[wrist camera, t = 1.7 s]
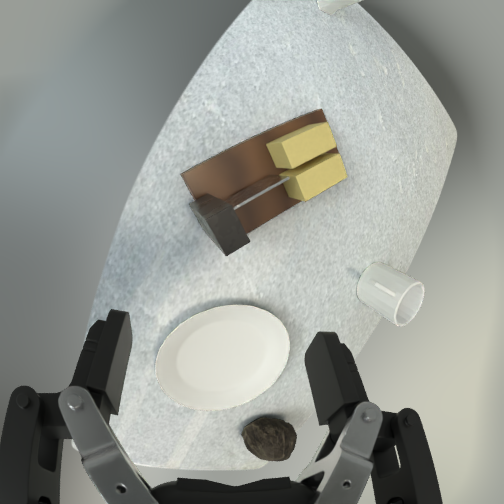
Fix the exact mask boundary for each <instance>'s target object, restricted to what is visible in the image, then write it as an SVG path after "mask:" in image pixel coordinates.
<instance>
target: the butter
mask: <svg viewBox="0 0 504 504" xmlns="http://www.w3.org/2000/svg"><path fill="white" fill-rule="evenodd" d="M266 146H267V148H268V150H269V152H270V154H271V157H272V159H273V161H274V163H275V166H276V168H288V169H289V170H287V171H285V172H283V173H281V174H279V175H281V176H288V177H289V178H290V179H289V180H287V181H285V182H283V184H284V187H285V189H286V192H287V194H288V196H289V197H290V198H294V199H298V200H301V201H305V202H306V201H308V200H309V199H311V198H313V197H314V196H316V195H318V194H320V193H321V192H323V191H325V190H326V189H328V188H330V187H331V186H333V185H335V184H337V183H338V182H340V181H342V180H343V179H345V178H347V174H346V171H345V168H344V165H343V162H342V159H341V156H340V154H339V153H325V152H327V151H329V150H331V149H333V148H335V147H337V145H336V142H335V140H334V137H333V134H332V132H331V129H330V127H329V124H328V122H323V123H317V124H310V125H307V126H305V127H303V128H300V129H298V130H296V131H293V132H291V133H289V134H287V135H284V136H282V137H280V138H278V139H276V140H274V141H271V142H269V143H267V144H266Z"/></svg>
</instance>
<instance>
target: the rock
mask: <svg viewBox="0 0 504 504" xmlns="http://www.w3.org/2000/svg"><path fill="white" fill-rule="evenodd" d="M241 435H242V437H243V439H244V443H245V445H246V447H247V449H248V450H249V451H250V452H251V453H252V454H254V455H255V456H256V457H258V458H259V459H262V460H267V461H283V460H286V459H288V458H289V457H290V455H291V453H292V452H293V450H294V448H295V444H296V439H297V435H296V432H295V430H294V428H293V426H292V425H291V424H290V423H286V422H285V421H284V420H279V419H275V418H267V417H266V418H259V419H257V420H255V421H254V422H251V423H250V424H249V425H247V426H246V427H245V428H244V430H243V431H242V434H241Z"/></svg>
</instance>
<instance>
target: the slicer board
mask: <svg viewBox="0 0 504 504" xmlns="http://www.w3.org/2000/svg"><path fill="white" fill-rule="evenodd" d="M323 122H327V120H326V118H325V115H324V113H323V110H322V109H318V110H314V111H312V112H309V113H307V114H304V115H302V116H299V117H297V118H294V119H292V120H289V121H287V122H285V123H282V124H280V125H278V126H275V127H273V128H271V129H269V130H266V131H264V132H262V133H260V134H258V135H255V136H253V137H251V138H249V139H247V140H245V141H243V142H241V143H239V144H236V145H234V146H232V147H230V148H228V149H226V150H224V151H222V152H220V153H219V154H217V155H215V156H213V157H211V158H209V159H207V160H205V161H203V162H201V163H200V164H198V165H196V166H194V167H192V168H190V169H189V170H187V171H185V172H183V173H181V176H182V178H183V180H184V182H185V184H186V185H187V187H188V189H189V191H190V193H191V195H192V196H193V198H194V200H197V199H199V198H200V197H202V196H204V195H206V194H207V193H208V194H210V195H212V196H214V197H216V198H218V199H221V200H223V201H224V200H225V199H227V198H229V197H231V196H232V195H234V194H236V193H238V192H239V191H241V190H243V189H245V188H247V187H248V186H250V185H252V184H254V183H256V182H258V181H259V180H261V179H263V178H265V177H267V176H269V175H271V174H273V175H279V174H281V173H283V172H285V171H287V170H289V169H288V168H276V166H275V163H274V161H273V159H272V157H271V154H270V152H269V150H268V148H267V146H266V144H267V143H269V142H271V141H274V140H276V139H278V138H280V137H282V136H284V135H287V134H289V133H291V132H293V131H296V130H298V129H300V128H303V127H305V126H307V125H310V124H317V123H323ZM325 153H339V152H338V149H337V147H335V148H333V149H331V150H329V151H327V152H325ZM299 202H301V200H298V199H294V198H290V197H289V196H288V194H287V192H286V189H285V187H284V184H283V183H282V184H280V185H278V186H276V187H274V188H273V189H271V190H269V191H267V192H265V193H264V194H262V195H260V196H258V197H256V198H255V199H253V200H251V201H249V202H248V203H246V204H244V205H242V206H241V207H239V208H237V209H236V210H235V212H236V214H237V216H238V218H239V220H240V222H241V224H242V226H243V228H244V230H245V232H246V234H247V233H249V232H250V231H252V230H254V229H255V228H257V227H259V226H260V225H262V224H264V223H265V222H267V221H269V220H270V219H272V218H274V217H275V216H277V215H279V214H280V213H282V212H284V211H285V210H287V209H289V208H291V207H292V206H294V205H296V204H297V203H299Z"/></svg>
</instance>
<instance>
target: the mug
mask: <svg viewBox="0 0 504 504" xmlns="http://www.w3.org/2000/svg"><path fill="white" fill-rule="evenodd" d="M357 296H358V298H359V300H360V301H361V302H362V303H364V304H365V305H367V306H368V307H370V308H371V309H373V310H374V311H376V312H377V313H379V314H380V315H382V316H383V317H385V318H386V319H387V320H389V321H390V322H392V323H393V324H395V325H396V326H399V327H400V326H404V325H406V324H408V323H409V322H410V321H411V320H412V319H413V318H414V317H415V316H416V314H417V313H418V311H419V309H420V307H421V305H422V302H423V299H424V286H423V284H422V283H421V282H420V281H418V280H416V279H413V278H412V277H410V276H408V275H406V274H404V273H402V272H400V271H398V270H396V269H394V268H392V267H390V266H388V265H386V264H384V263H382V262H376V263H373V264H371V265H370V266H368V267H367V268H366V269H365V271H364V272H363V273H362V275H361V277H360V279H359V282H358V285H357Z"/></svg>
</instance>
